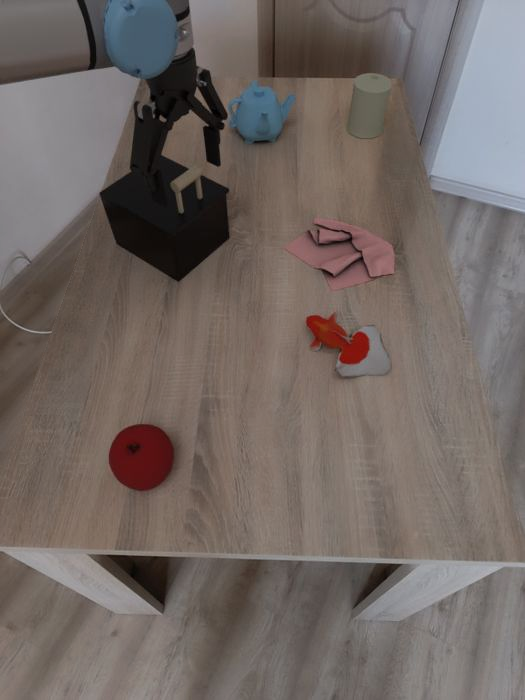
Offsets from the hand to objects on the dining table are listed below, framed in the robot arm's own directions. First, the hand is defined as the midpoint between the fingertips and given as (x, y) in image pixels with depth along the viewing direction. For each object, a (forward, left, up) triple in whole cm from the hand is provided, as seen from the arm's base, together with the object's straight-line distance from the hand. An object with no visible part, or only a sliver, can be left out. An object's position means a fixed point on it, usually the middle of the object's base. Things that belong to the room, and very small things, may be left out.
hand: (188, 182), depth 82 cm
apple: (-23, -39, -18) cm, 48 cm away
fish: (+14, -34, -18) cm, 41 cm away
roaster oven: (-4, +6, -17) cm, 19 cm away
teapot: (+29, +34, -18) cm, 48 cm away
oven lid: (-3, +6, -5) cm, 9 cm away
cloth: (+26, -11, -18) cm, 34 cm away
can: (+54, +25, -18) cm, 63 cm away
